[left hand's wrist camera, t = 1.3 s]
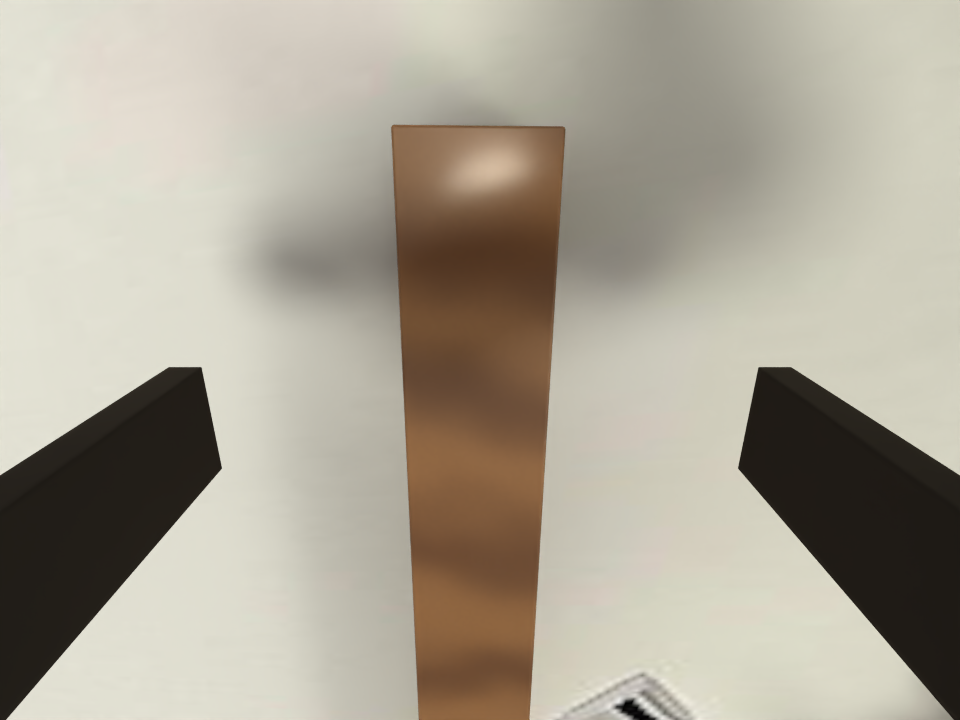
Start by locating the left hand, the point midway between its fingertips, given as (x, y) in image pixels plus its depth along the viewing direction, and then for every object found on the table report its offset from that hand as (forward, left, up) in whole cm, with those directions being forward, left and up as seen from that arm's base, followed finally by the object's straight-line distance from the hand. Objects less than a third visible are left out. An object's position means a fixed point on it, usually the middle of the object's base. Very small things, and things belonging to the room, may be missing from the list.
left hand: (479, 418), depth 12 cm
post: (+15, +16, -15) cm, 27 cm away
